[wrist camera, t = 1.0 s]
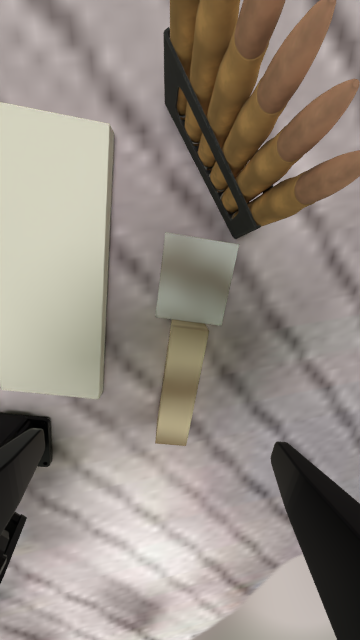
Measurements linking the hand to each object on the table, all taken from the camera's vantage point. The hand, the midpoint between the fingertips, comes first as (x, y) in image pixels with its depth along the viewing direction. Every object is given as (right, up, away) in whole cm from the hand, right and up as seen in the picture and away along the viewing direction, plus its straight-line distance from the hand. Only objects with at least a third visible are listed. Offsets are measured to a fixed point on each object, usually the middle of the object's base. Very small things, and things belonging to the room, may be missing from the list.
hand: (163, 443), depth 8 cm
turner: (+1, +3, +12) cm, 12 cm away
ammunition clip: (+3, +16, +8) cm, 19 cm away
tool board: (-10, +8, +10) cm, 16 cm away
